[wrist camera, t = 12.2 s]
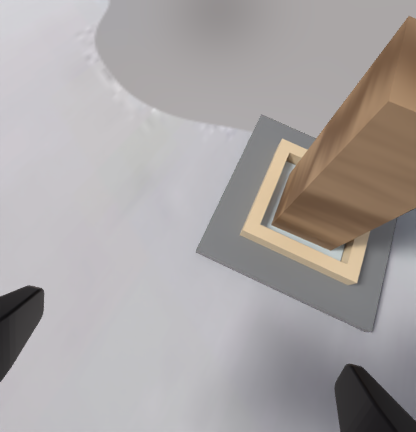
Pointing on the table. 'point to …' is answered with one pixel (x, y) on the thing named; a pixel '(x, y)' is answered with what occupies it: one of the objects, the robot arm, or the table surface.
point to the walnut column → (360, 156)
